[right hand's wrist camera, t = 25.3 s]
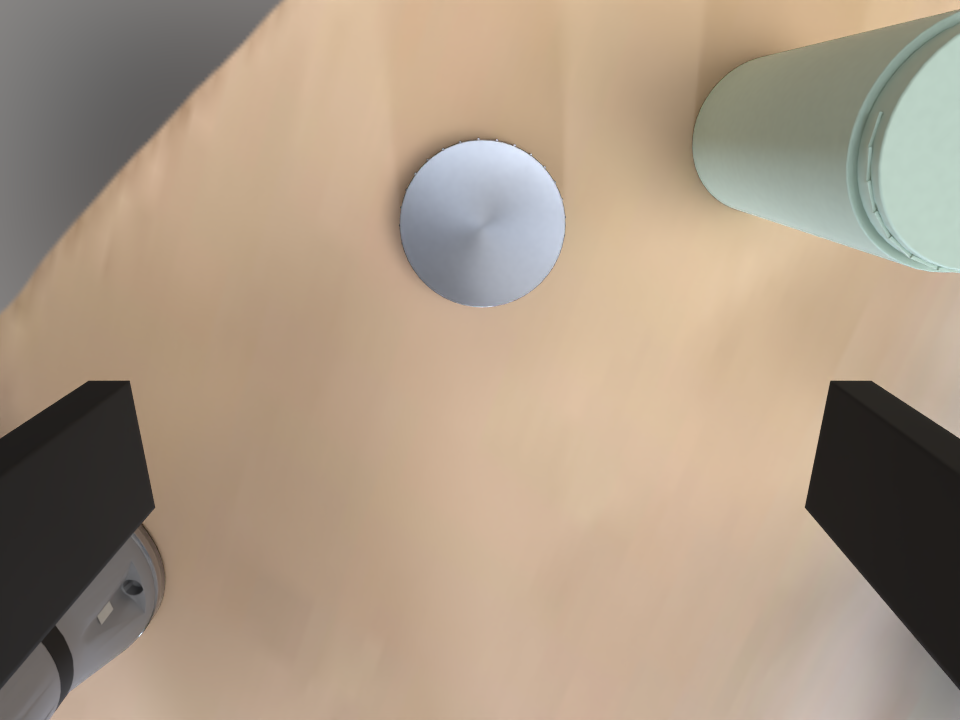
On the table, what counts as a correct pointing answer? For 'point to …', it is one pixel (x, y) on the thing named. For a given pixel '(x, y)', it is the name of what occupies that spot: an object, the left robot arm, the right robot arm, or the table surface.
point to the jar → (846, 141)
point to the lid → (482, 223)
